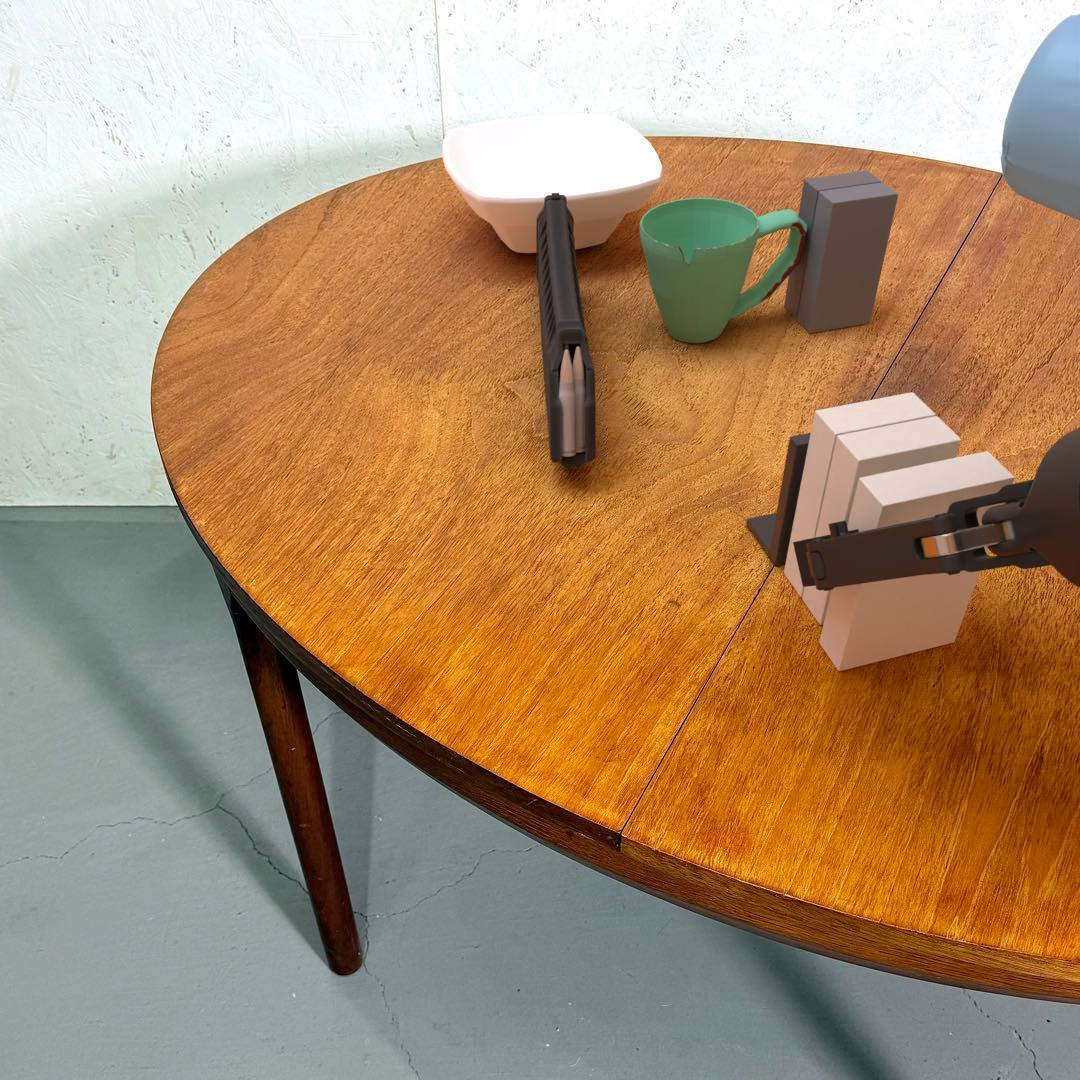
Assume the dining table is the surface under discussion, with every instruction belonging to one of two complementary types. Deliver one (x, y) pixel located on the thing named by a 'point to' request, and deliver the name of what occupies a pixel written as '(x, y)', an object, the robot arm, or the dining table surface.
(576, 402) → the magazine
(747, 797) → the dining table surface
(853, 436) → the white books
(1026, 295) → the dining table surface
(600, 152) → the bowl
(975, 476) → the thin book
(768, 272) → the mug
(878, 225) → the grey books
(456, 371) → the dining table surface
